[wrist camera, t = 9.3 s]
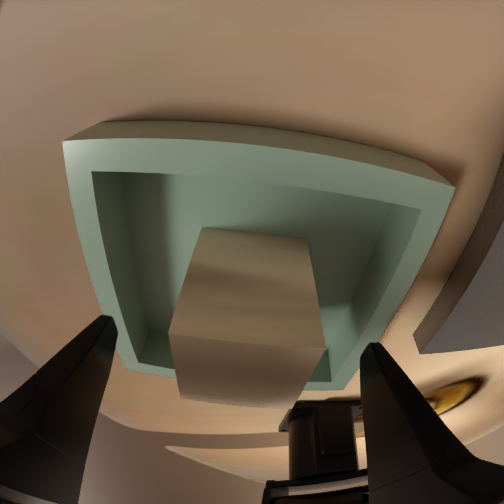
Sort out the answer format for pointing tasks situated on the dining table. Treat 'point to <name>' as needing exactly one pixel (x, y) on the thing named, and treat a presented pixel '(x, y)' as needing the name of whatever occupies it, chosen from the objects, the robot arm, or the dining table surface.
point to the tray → (248, 224)
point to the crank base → (472, 289)
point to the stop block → (246, 321)
